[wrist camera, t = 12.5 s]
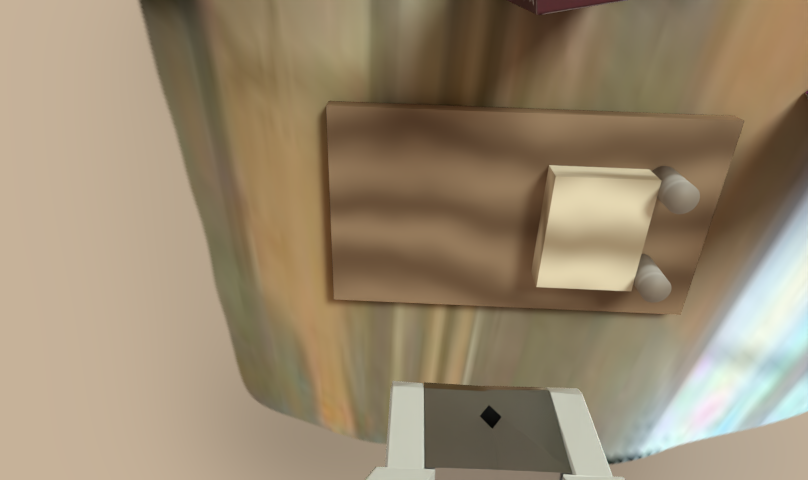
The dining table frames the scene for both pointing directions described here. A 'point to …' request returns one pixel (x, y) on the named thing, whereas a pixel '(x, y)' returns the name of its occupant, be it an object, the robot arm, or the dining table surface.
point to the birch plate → (593, 227)
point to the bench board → (507, 200)
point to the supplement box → (557, 5)
